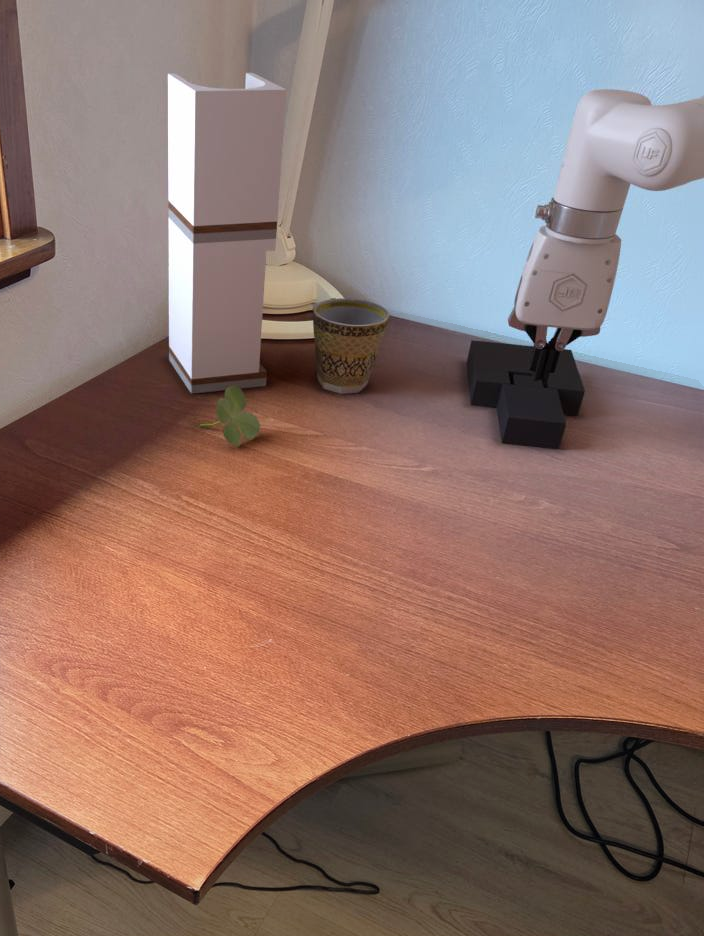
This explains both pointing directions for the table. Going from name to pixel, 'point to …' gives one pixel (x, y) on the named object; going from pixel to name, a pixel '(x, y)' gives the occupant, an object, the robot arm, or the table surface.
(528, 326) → the robot arm
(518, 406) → the pad
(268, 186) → the tall square vase
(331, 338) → the ceramic cup
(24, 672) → the table surface
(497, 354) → the notch pad
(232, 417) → the green clover leaf
